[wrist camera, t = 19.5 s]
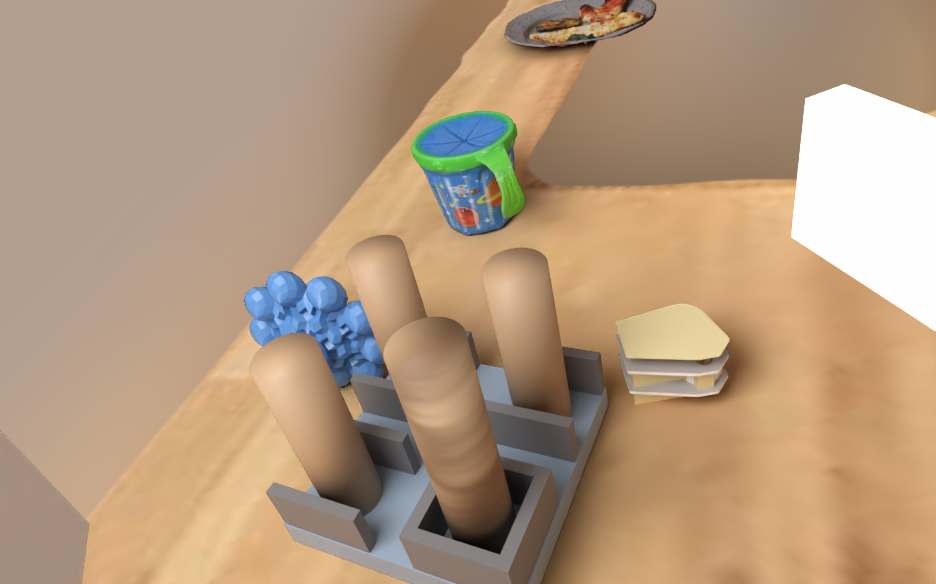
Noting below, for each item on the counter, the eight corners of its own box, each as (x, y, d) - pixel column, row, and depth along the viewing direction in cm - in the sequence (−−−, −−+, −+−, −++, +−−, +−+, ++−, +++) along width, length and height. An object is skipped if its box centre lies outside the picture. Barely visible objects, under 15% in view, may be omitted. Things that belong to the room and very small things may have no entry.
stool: (608, 405, 50) (588, 238, 41) (525, 625, 39) (473, 461, 30) (411, 367, 57) (359, 219, 48) (294, 541, 46) (197, 390, 37)
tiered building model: (618, 446, 47) (612, 392, 44) (594, 358, 54) (588, 306, 51) (764, 422, 46) (769, 365, 43) (720, 336, 54) (722, 281, 50)
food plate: (653, -3, 120) (652, -24, 118) (661, 44, 103) (660, 20, 101) (515, 20, 127) (512, 0, 125) (499, 67, 109) (496, 46, 107)
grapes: (262, 424, 56) (198, 314, 49) (291, 365, 61) (236, 258, 54) (395, 421, 53) (348, 304, 46) (413, 360, 58) (373, 246, 51)
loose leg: (529, 517, 42) (480, 323, 32) (504, 575, 39) (443, 383, 29) (471, 500, 43) (409, 311, 34) (444, 555, 41) (367, 367, 31)
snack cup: (412, 208, 79) (388, 127, 73) (491, 174, 81) (475, 94, 75) (469, 270, 67) (446, 180, 61) (560, 229, 69) (547, 138, 63)
